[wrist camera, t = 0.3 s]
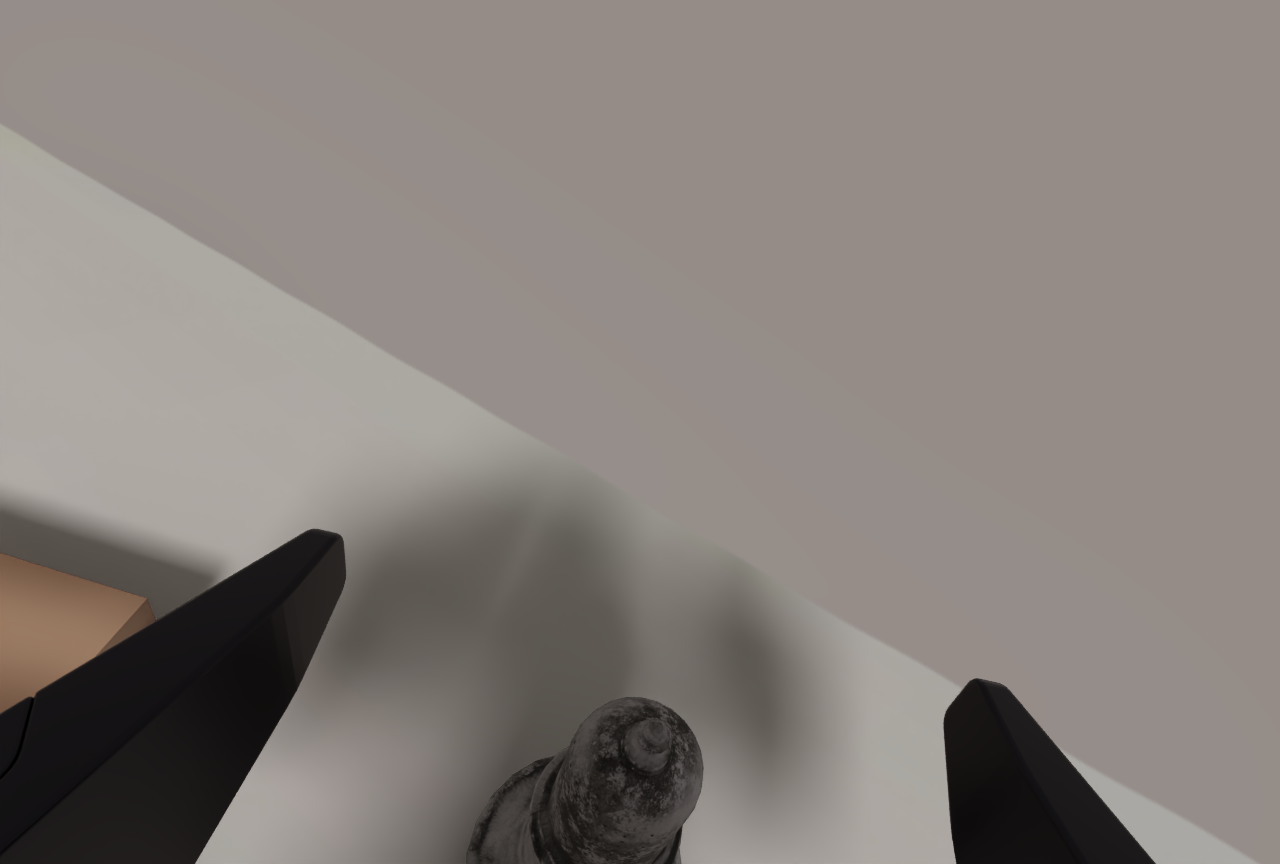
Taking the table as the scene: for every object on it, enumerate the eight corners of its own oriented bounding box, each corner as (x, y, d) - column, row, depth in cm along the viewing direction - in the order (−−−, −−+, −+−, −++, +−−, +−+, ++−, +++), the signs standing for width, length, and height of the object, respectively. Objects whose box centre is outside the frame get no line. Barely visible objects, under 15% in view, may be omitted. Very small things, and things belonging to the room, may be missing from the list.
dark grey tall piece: (429, 846, 21) (457, 641, 13) (600, 768, 24) (705, 562, 16) (495, 1081, 18) (584, 993, 10) (684, 958, 21) (869, 813, 13)
